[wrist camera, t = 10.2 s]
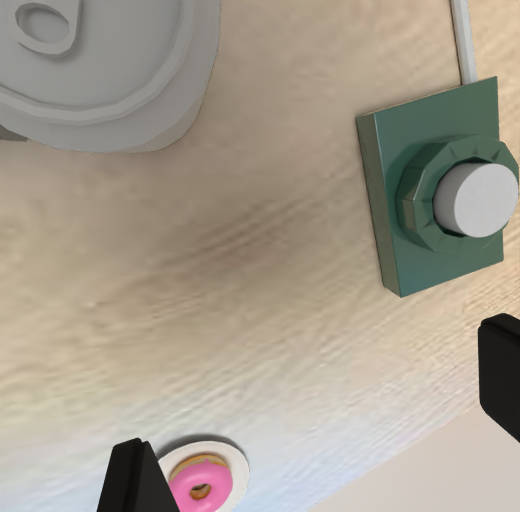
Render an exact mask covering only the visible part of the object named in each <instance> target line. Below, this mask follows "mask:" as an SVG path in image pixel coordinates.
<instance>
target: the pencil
mask: <svg viewBox="0 0 520 512" xmlns="http://www.w3.org/2000/svg"><path fill="white" fill-rule="evenodd" d="M450 1H451V8H452V15H453V22H454V29H455V36H456V43H457V50H458V57H459V64H460V70H461V77H462V84H467V83H471V82H474V81H478V79H477V71H476V63H475V55H474V47H473V40H472V32H471V24H470V16H469V9H468V1H467V0H450Z"/></svg>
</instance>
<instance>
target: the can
mask: <svg viewBox="0 0 520 512" xmlns="http://www.w3.org/2000/svg"><path fill="white" fill-rule="evenodd" d="M220 7H221V0H0V124H1V125H2V126H3V127H5V128H6V129H8V130H9V131H12V132H14V133H17V134H19V135H22V136H25V137H27V138H30V139H32V140H35V141H37V142H40V143H42V144H45V145H47V146H50V147H52V148H55V149H63V150H73V151H83V152H93V153H145V152H150V151H155V150H159V149H164V148H165V147H167V146H168V145H170V144H172V143H173V142H175V141H177V140H178V139H180V138H181V137H182V136H183V135H184V134H185V133H186V131H187V130H188V129H189V128H190V127H191V125H192V124H193V123H194V122H195V120H196V118H197V115H198V112H199V110H200V107H201V104H202V102H203V99H204V95H205V92H206V89H207V85H208V82H209V78H210V75H211V72H212V68H213V65H214V61H215V58H216V55H217V51H218V40H219V23H220Z"/></svg>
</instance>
